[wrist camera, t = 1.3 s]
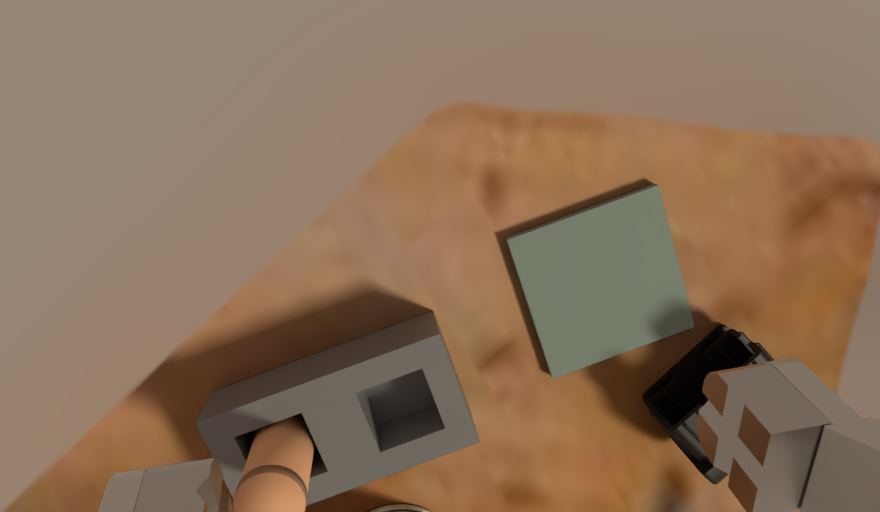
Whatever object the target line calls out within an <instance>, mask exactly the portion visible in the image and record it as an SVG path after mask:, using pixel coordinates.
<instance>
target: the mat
mask: <svg viewBox="0 0 880 512" xmlns="http://www.w3.org/2000/svg"><path fill="white" fill-rule="evenodd" d="M505 239H506V242H507V245H508V248H509V251H510V254H511V257H512V260H513V263H514V266H515V270H516V273H517V276H518V279H519V282H520V285H521V288H522V291H523V294H524V297H525V300H526V303H527V306H528V309H529V312H530V315H531V318H532V321H533V324H534V327H535V330H536V333H537V336H538V339H539V342H540V345H541V348H542V351H543V354H544V357H545V360H546V363H547V367H548V370H549V373H550V375H551V377H552V378H553V379H554V378H557V377H560V376H562V375H565V374H568V373H570V372H573V371H576V370H579V369H581V368H584V367H587V366H589V365H592V364H595V363H598V362H600V361H603V360H606V359H609V358H611V357H614V356H617V355H619V354H622V353H625V352H628V351H630V350H633V349H636V348H639V347H641V346H644V345H647V344H649V343H652V342H655V341H658V340H660V339H663V338H666V337H668V336H671V335H674V334H677V333H679V332H682V331H685V330H688V329H690V328H693V327H695V325H694V321H693V317H692V314H691V310H690V306H689V302H688V298H687V294H686V290H685V287H684V283H683V279H682V275H681V271H680V267H679V263H678V259H677V256H676V252H675V248H674V244H673V240H672V236H671V232H670V229H669V225H668V221H667V217H666V213H665V209H664V205H663V201H662V198H661V194H660V190H659V186H658V185H657V184H651V185H649V186H646V187H643V188H640V189H638V190H635V191H632V192H629V193H627V194H624V195H621V196H618V197H616V198H613V199H610V200H607V201H605V202H602V203H599V204H596V205H594V206H591V207H588V208H585V209H583V210H580V211H577V212H574V213H572V214H569V215H566V216H563V217H561V218H558V219H555V220H552V221H550V222H547V223H544V224H541V225H539V226H536V227H533V228H530V229H528V230H525V231H522V232H520V233H517V234H514V235H511V236H509V237H506V238H505Z"/></svg>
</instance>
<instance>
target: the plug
mask: <svg viewBox="0 0 880 512" xmlns="http://www.w3.org/2000/svg"><path fill="white" fill-rule="evenodd" d="M314 448H315V442H314V439H313V437H312V435H311V433H310V430H309V428H308V426H307V424H306V422H305V419H304V417H303V415H302V413H300V414H297V415H294V416H291V417H289V418H286V419H283V420H280V421H278V422H275V423H272V424H269V425H267V426H264V427H261V428H259V429H257V431H256V434H255V437H254V440H253V443H252V446H251V449H250V452H249V455H248V458H247V461H246V464H245V467H244V470H243V473H242V476H241V479H240V482H239V484H238V486H237V489H236V492H235V495H234V499H233V509H234V512H305V509H306V504H307V493H308V486H309V480H310V473H311V467H312V461H313V454H314Z"/></svg>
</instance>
